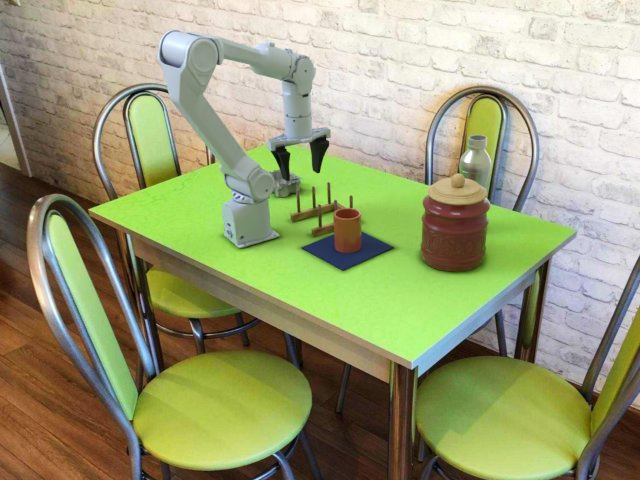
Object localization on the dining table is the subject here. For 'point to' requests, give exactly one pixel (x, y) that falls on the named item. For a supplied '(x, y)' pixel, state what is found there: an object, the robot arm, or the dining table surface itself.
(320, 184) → the dining table surface
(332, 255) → the cloth
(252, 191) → the robot arm
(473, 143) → the plastic bottle
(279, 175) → the egg carton
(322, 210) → the drying rack
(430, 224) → the kitchen canister
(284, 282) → the dining table surface
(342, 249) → the tumbler
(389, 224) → the dining table surface
